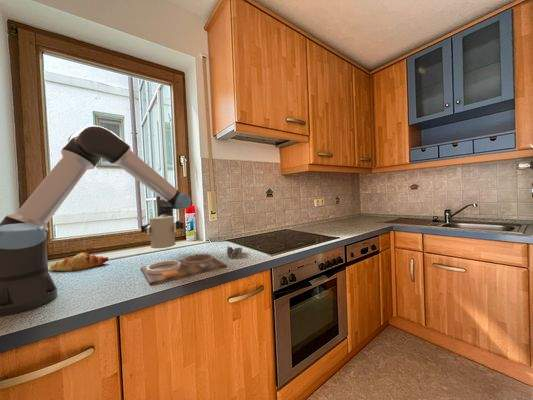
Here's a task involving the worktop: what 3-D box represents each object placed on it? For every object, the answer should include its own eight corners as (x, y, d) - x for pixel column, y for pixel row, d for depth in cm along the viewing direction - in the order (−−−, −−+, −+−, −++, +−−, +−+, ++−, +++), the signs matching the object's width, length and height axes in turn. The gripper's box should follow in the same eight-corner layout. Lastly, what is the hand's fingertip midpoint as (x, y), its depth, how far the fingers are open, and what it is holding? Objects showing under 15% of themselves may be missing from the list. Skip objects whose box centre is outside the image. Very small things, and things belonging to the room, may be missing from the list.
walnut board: (150, 285, 80) (149, 278, 80) (140, 269, 97) (140, 263, 97) (226, 266, 97) (226, 260, 97) (207, 256, 114) (206, 251, 114)
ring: (152, 280, 81) (152, 276, 81) (144, 268, 96) (144, 264, 96) (188, 272, 89) (188, 268, 89) (175, 261, 103) (175, 258, 103)
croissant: (47, 281, 97) (41, 267, 93) (56, 264, 105) (50, 250, 101) (108, 272, 105) (104, 258, 101) (111, 256, 113) (108, 244, 109)
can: (178, 242, 99) (177, 214, 98) (170, 247, 90) (168, 217, 89) (156, 243, 99) (155, 215, 98) (146, 249, 89) (144, 218, 89)
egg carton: (227, 253, 119) (227, 245, 119) (242, 252, 120) (242, 244, 120) (226, 259, 109) (225, 250, 109) (242, 258, 110) (242, 249, 109)
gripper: (188, 228, 115) (191, 236, 94) (139, 233, 107) (130, 242, 86) (188, 213, 114) (190, 218, 93) (138, 216, 107) (129, 222, 86)
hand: (161, 230), depth 90 cm, fingers closed on can, 9 cm apart
